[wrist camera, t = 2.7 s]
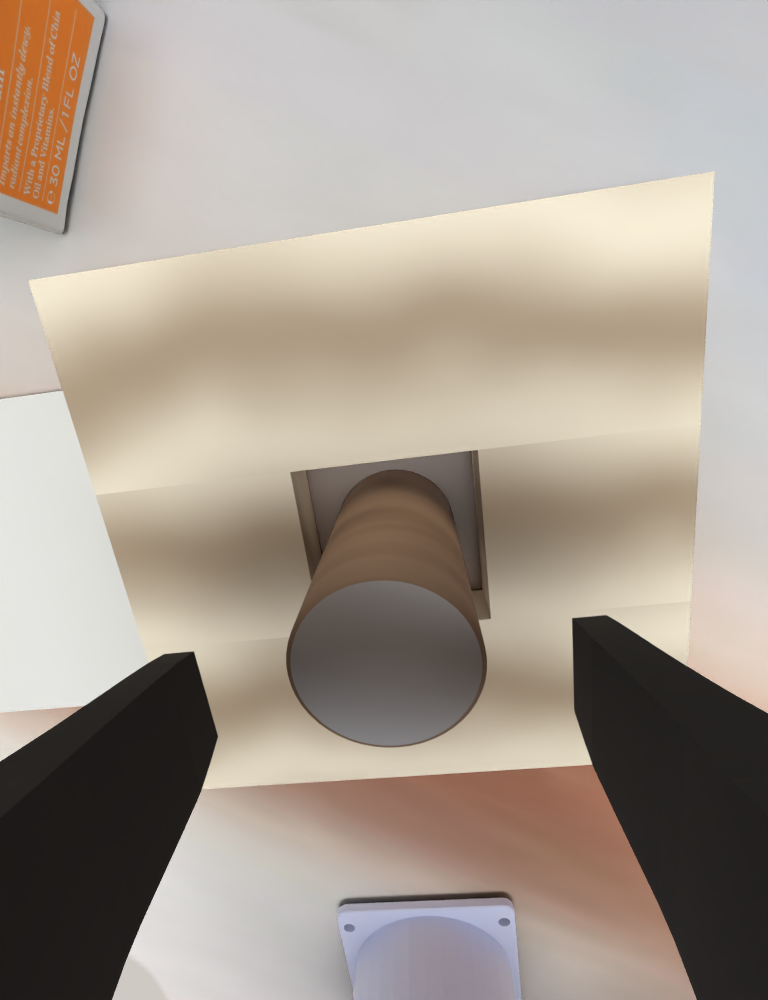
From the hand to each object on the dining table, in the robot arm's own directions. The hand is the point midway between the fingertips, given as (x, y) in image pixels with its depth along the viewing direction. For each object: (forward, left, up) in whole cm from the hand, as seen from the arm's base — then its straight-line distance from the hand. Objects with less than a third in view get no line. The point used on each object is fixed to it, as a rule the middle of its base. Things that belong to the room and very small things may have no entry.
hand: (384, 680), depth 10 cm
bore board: (0, 0, -8) cm, 9 cm away
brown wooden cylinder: (0, 0, -8) cm, 9 cm away
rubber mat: (0, +14, -8) cm, 16 cm away
